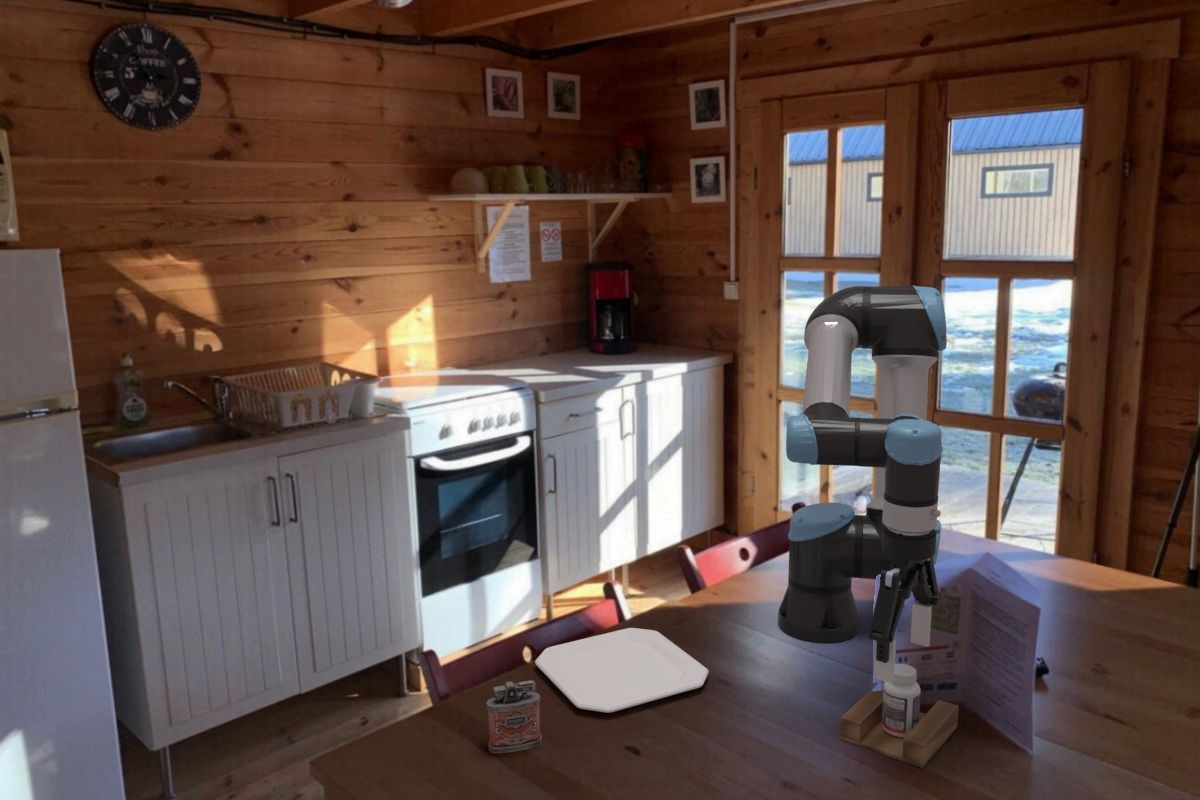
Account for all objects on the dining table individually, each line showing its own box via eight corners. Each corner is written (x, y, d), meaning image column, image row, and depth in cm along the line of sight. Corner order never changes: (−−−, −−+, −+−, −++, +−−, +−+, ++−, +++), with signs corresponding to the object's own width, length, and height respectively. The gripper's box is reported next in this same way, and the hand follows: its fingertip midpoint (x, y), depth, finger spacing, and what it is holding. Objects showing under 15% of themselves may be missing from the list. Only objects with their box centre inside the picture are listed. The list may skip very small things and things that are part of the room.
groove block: (840, 738, 145) (840, 717, 144) (878, 701, 155) (879, 681, 155) (922, 768, 137) (923, 745, 136) (957, 726, 147) (958, 705, 147)
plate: (526, 663, 171) (526, 651, 171) (647, 633, 182) (647, 622, 182) (588, 728, 149) (587, 715, 149) (721, 690, 160) (721, 677, 160)
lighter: (490, 755, 142) (487, 693, 140) (486, 743, 145) (483, 682, 143) (544, 746, 144) (541, 684, 142) (538, 734, 147) (536, 674, 145)
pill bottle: (905, 717, 149) (908, 659, 147) (925, 735, 144) (929, 675, 142) (874, 723, 148) (877, 664, 146) (893, 741, 143) (897, 680, 141)
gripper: (900, 560, 128) (893, 704, 133) (965, 508, 146) (957, 636, 151) (847, 547, 132) (842, 687, 137) (917, 499, 151) (910, 623, 156)
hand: (902, 661), depth 144 cm, fingers open, 13 cm apart
